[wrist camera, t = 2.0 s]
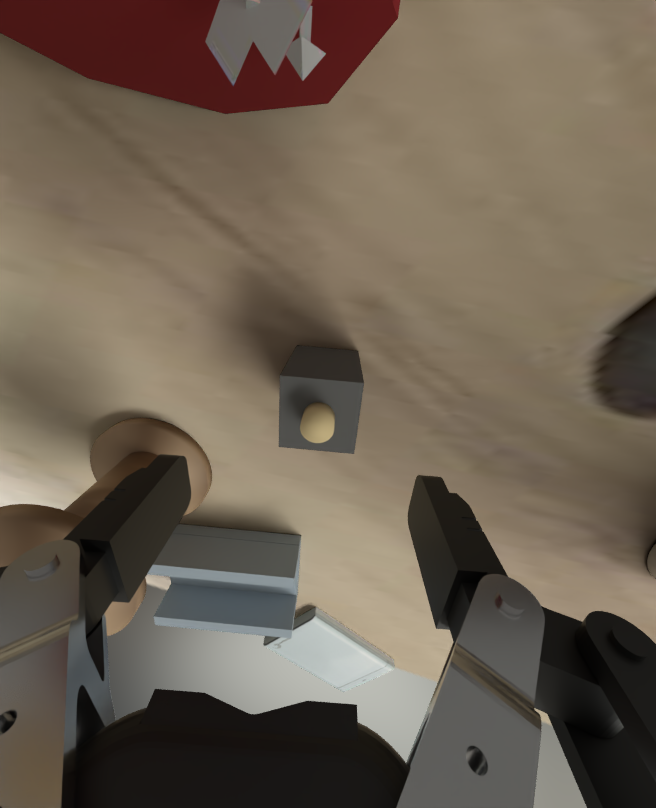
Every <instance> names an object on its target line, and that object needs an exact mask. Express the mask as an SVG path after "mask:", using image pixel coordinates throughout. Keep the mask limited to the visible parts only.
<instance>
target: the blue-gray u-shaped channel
mask: <svg viewBox="0 0 656 808" xmlns="http://www.w3.org/2000/svg"><path fill="white" fill-rule="evenodd" d="M300 545H301V536H300V535H289V534H279V533H268V532H258V531H248V530H237V529H227V528H216V527H206V526H196V525H185V524H178V525H177V527H176V528H175V530H174V531H173V533H172V535H171V536H170V538H169V539H168V541H167V543H166V544H165V546H164V548H163V549H162V551H161V552H160V554H159V556H158V557H157V559H156V560H155V562H154V564H153V565H152V567H151V568H150V570H149V572H148V573H147V574H150V575H160V576H170V579H171V585H170V587H169V589H168V591H167V592H166V594H165V596H164V598H163V600H162V602H161V604H160V606H159V607H158V609H157V611H156V613H155V615H154V616H153V617H154V621H155V624H156V625H161V626H171V627H181V628H191V629H201V630H211V631H222V632H232V633H243V634H252V635H262V636H272V637H282V638H292V630H293V623H294V616H295V609H296V602H297V595H298V579H299V562H300Z"/></svg>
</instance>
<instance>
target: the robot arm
mask: <svg viewBox="0 0 656 808" xmlns="http://www.w3.org/2000/svg"><path fill="white" fill-rule="evenodd" d="M190 500H191V485H190V478H189V471H188V465H187V460H186V457H185V456H180V455H167V454H160V455H158V456H157V457H156V458H155V459H154V460H153V462H152V463H151V464H150V465H149V466H148V467H147V468H140V469H139V470H137V471H135V472H133V473H132V474H130V475H128V476H127V477H125V478H124V479H123V480H122V481H121V482H120V483H119V484H118V485H117V486H116V487H115V488H114V491H111V492H110V493H109V494H108V495H107V496H106V497H105V498H104V501H101V502H100V503H99V504H98V505H97V506H96V507H95V508H94V509H93V510H92V511H91V512H90V513H89V514H88V515H87V516H86V517H85V518H84V519H83V520H82V521H81V522H80V523H79V524H78V525H77V526H76V527H75V528H74V529H73V530H72V531H71V532H70V533H69V534H68V535H67V536H66V537H65V538H64V539H63V540H56V541H51V542H47V543H44V544H42V545H39V546H37V547H35V548H32V549H31V550H29V551H27V552H25V553H24V554H22V555H21V556H19V557H18V558H17V559H15V560H14V561H13V562H12V563H11V564H10V565H9V566H4V567H0V808H533V805H534V796H535V787H536V777H537V768H538V759H539V750H540V740H541V717H540V715H539V713H537V712H536V711H535V710H534V708H536V709H538V710H541V711H543V712H545V713H547V714H548V716H549V719H550V721H551V723H552V726H553V728H554V730H555V733H556V735H557V738H558V740H559V742H560V744H561V747H562V749H563V752H564V754H565V757H566V759H567V761H568V764H569V766H570V768H571V771H572V773H573V775H574V778H575V780H576V783H577V785H578V787H579V790H580V792H581V794H582V797H583V799H584V801H585V804H586V806H587V808H656V644H655V643H654V642H653V641H652V640H651V639H650V638H649V637H648V636H647V635H646V634H645V633H643V632H642V631H641V630H640V629H638V628H637V627H636V626H634V625H633V624H631V623H630V622H628V621H626V620H624V619H623V618H621V617H619V616H616V615H614V614H611V613H608V612H603V611H594V612H591V613H589V614H588V615H587V617H586V618H585V620H584V621H583V622H581V621H579V620H576V619H573V618H571V617H568V616H565V615H562V614H560V613H557V612H554V611H552V610H549V609H547V608H544V607H542V606H541V605H540V603H539V602H538V600H537V599H536V598H535V596H534V595H533V594H532V593H531V592H530V591H529V590H528V589H527V588H526V587H524V586H523V585H522V584H520V583H519V582H517V581H516V580H514V579H512V578H509V577H508V576H507V574H506V572H505V570H504V569H503V567H502V565H501V563H500V561H499V559H498V558H497V556H496V554H495V552H494V550H493V548H492V547H491V545H490V543H489V541H488V539H487V537H486V536H485V534H484V532H482V528H481V526H480V525H479V523H478V521H476V517H475V515H474V514H473V512H472V510H471V508H470V506H469V505H468V504H467V503H466V502H465V501H464V500H463V499H462V498H461V497H460V496H459V495H458V494H457V493H449V491H448V489H447V487H446V485H445V483H444V481H443V479H442V478H441V477H434V476H422V475H418V476H417V478H416V481H415V485H414V489H413V493H412V497H411V501H410V505H409V510H408V525H409V530H410V534H411V537H412V541H413V545H414V548H415V552H416V556H417V560H418V563H419V567H420V571H421V574H422V578H423V582H424V586H425V589H426V593H427V597H428V600H429V604H430V608H431V612H432V615H433V619H434V623H435V626H436V629H449V630H450V631H451V635H452V638H453V641H454V642H453V644H452V647H451V649H450V652H449V655H448V657H447V660H446V662H445V665H444V668H443V670H442V673H441V675H440V678H439V681H438V683H437V686H436V688H435V691H434V694H433V697H432V699H431V701H430V704H429V707H428V709H427V712H426V714H425V717H424V720H423V722H422V725H421V727H420V729H419V732H418V735H417V737H416V740H415V742H414V744H413V747H412V749H411V752H410V755H409V757H408V760H407V762H406V763H405V761H404V760H403V759H402V758H401V756H400V755H399V754H398V753H397V752H396V751H395V750H394V749H393V748H392V746H391V745H390V744H389V743H387V742H386V741H385V740H384V739H383V738H382V737H381V736H379V735H378V734H377V733H375V732H374V731H372V730H371V729H369V728H368V727H366V726H364V725H362V724H360V723H358V722H357V705H353V704H341V703H327V702H315V701H305V702H301V703H298V704H294V705H290V706H286V707H283V708H279V709H275V710H271V711H268V712H264V713H260V714H255V715H254V714H248V713H246V712H244V711H242V710H239V709H237V708H235V707H233V706H231V705H229V704H227V703H225V702H223V701H221V700H219V699H216V698H214V697H212V696H210V695H208V694H206V693H199V692H187V691H174V690H161V689H155V690H154V693H153V695H152V698H151V699H150V702H149V704H148V706H147V708H144V709H141V710H138V711H136V712H133V713H131V714H128V715H126V716H124V717H122V718H120V719H119V720H117V721H116V719H115V713H114V707H113V703H112V699H111V693H110V683H109V664H108V646H107V627H106V616H105V614H104V613H105V612H106V610H107V609H108V607H109V606H110V604H111V603H112V602H125V603H129V602H130V601H131V599H132V597H133V596H134V594H135V593H136V591H137V589H138V588H139V586H140V585H141V583H142V581H143V580H144V578H145V576H146V575H147V573H148V572H149V570H150V568H151V567H152V565H153V564H154V562H155V560H156V559H157V557H158V556H159V554H160V552H161V551H162V549H163V548H164V546H165V544H166V543H167V541H168V539H169V538H170V536H171V535H172V533H173V531H174V530H175V528H176V527H177V525H178V523H179V522H180V520H181V519H182V517H183V515H184V514H185V512H186V510H187V509H188V506H189V504H190ZM647 565H648V570H649V572H650V574H651V575H652V576H653V577H654V578H655V579H656V544H655V545H654V546H653V548H652V550H651V551H650V553H649V556H648V560H647Z"/></svg>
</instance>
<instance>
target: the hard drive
mask: <svg viewBox="0 0 656 808" xmlns="http://www.w3.org/2000/svg"><path fill="white" fill-rule="evenodd" d="M264 646H265V647H267V648H268V649H270V650H272V651H274V652H275V653H277V654H279V655H280V656H282V657H284V658H285V659H288V660H289V661H291V662H292V663H294V664H296V665H297V666H299V667H301V668H303V669H304V670H306V671H308V672H309V673H311V674H312V675H314V676H316V677H318V678H319V679H321V680H323V681H324V682H326V683H328V684H330V685H331V686H333V687H335V688H337V689H338V690H340V691H342V692H345V691H348V690H350V689H352V688H354V687H357V686H359V685H361V684H363V683H366V682H368V681H371V680H372V679H375V678H377V677H379V676H382V675H384V674H386V673H388V672H390V671H392V670H393V669H394V668H395V665H394V659H392V658H391V657H389V656H388V655H386V654H385V653H384V652H382V651H381V650H379V649H378V648H376V647H375V646H373V645H372V644H370V643H369V642H367V641H366V640H365V639H363V638H362V637H360V636H359V635H357V634H356V633H354V632H353V631H351V630H350V629H348V628H347V627H345V626H344V625H342V624H341V623H340V622H338V621H337V620H335V619H334V618H332V617H331V616H329V615H328V614H326V613H325V612H323V611H322V610H320V609H319V608H317V607H315V608H313V609H311V610H309V611H308V612H306V613H304V614H303V615H301V616H299V617H298V618H296V619H294V623H293V630H292V638H282V637H272V636H265V638H264Z"/></svg>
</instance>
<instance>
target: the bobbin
mask: <svg viewBox="0 0 656 808" xmlns="http://www.w3.org/2000/svg"><path fill="white" fill-rule="evenodd" d="M160 454H167V455H180V456H185V457H186V460H187V465H188V471H189V478H190V485H191V500H190V504H189V506H188V509H187V510H186V512H185V514H184V515H183V516H185V515H187V514H189V513H191V512H192V511H194V510H195V509H196V508H197V507H198V506H199V505H200V504H201V503H202V501H203V499H204V498H205V496H206V494H207V493H208V491H209V489H210V486H211V481H212V471H211V466H210V463H209V460H208V458H207V456H206V454H205V453H204V451H203V450H202V448H201V447H200V446H199V445H198V443H197V442H196V441H195V440H194V439H192V438H191V437H190V436H189V435H188V434H186V433H185V432H183V431H182V430H180V429H179V428H177V427H175V426H173V425H171V424H168V423H166V422H163V421H159V420H155V419H149V418H133V419H128V420H124V421H121V422H119V423H117V424H115V425H114V426H112V427H111V428H109V429H108V430H106V431H105V432H104V433H102V434H101V435H100V436H99V437H98V438H97V440H96V441H95V443H94V444H93V446H92V450H91V455H90V463H91V468H92V471H93V474H94V477H95V478H96V480H97V482H96V483H95V484H94V485H93V486H91V487H90V488H89V489H88V490H87V491H86V492H85V493H83V494H82V495H81V496H80V497H79V498H78V499H77V500H75V501H74V502H73V503H72V504H71V505H70V506H69V507H67V508H66V509H65V510H61V509H56V508H52V507H48V506H41V505H32V504H17V505H8V506H3V507H0V567H4V566H9V565H10V564H11V563H12V562H13V561H14V560H15V559H17V558H18V557H19V556H21V555H22V554H24V553H25V552H27V551H29V550H31V549H32V548H35V547H37V546H39V545H42V544H44V543H47V542H51V541H56V540H63V539H64V538H65V537H66V536H67V535H68V534H69V533H70V532H71V531H72V530H73V529H74V528H75V527H76V526H77V525H78V524H79V523H80V522H81V521H82V520H83V519H84V518H85V517H86V516H87V515H88V514H89V513H90V512H91V511H92V510H93V509H94V508H95V507H96V506H97V505H98V504H99V503H100V502H101V501H104V498H105V497H106V496H107V495H108V494H109V493H110V492H111V491H114V488H115V487H116V486H117V485H118V484H119V483H120V482H121V481H122V480H123V479H124V478H125V477H127V476H128V475H130V474H132V473H133V472H135V471H137V470H139V469H140V468H147V467H148V466H149V465H150V464H151V463H152V462H153V460H154V459H155V458H156V457H157V456H158V455H160ZM145 593H146V579H145V578H144V580H143V581H142V583H141V585H140V586H139V588H138V589H137V591H136V593H135V594H134V596H133V597H132V599H131V601H130V602H129V603H125V602H112V603H111V604H110V606H109V607H108V609H107V610H106V612H105V613H104V614H105V616H106V627H107V636H109V635H112V634H115V633H116V632H119V631H120V630H122V629H123V628H124V627H126V626H127V625H128V623H129V622H130V621H131V619H132V618H133V616H134V614H135V613H136V611H137V609H138V608H139V606H140V604H141V603H142V601H143V599H144V597H145Z"/></svg>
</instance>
